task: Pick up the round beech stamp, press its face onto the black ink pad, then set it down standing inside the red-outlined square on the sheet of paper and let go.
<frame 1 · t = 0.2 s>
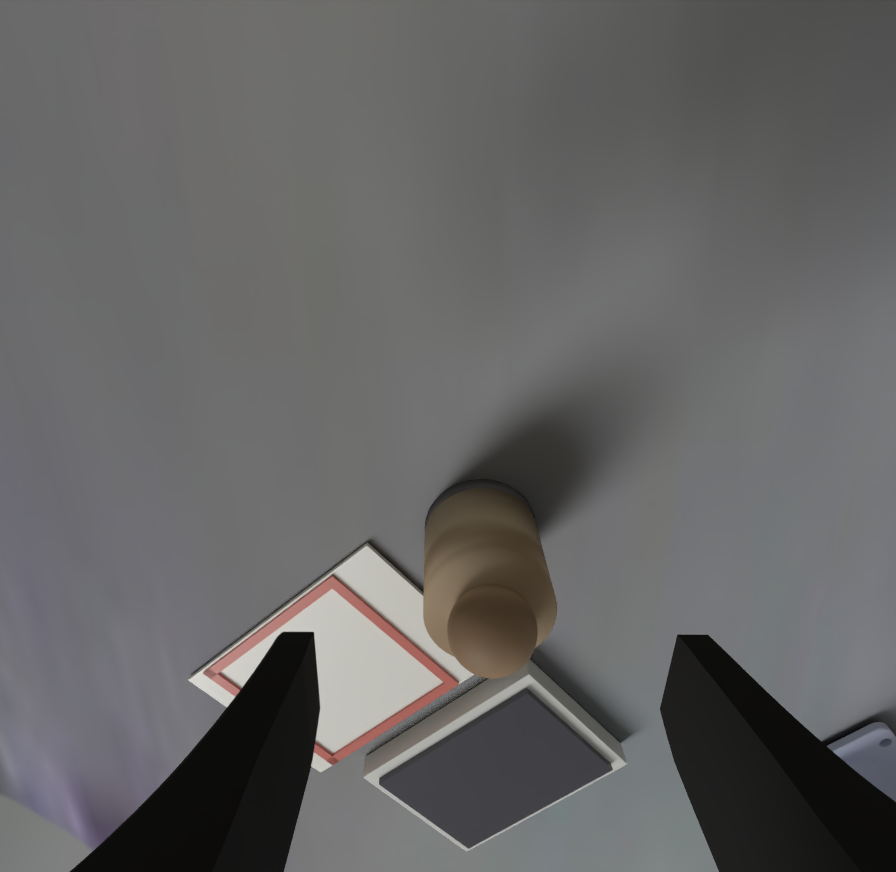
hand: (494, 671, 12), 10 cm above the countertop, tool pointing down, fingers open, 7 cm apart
ink pad: (493, 750, 28), on the countertop
sheet: (342, 666, 25), on the countertop
stamp: (479, 527, 23), on the countertop
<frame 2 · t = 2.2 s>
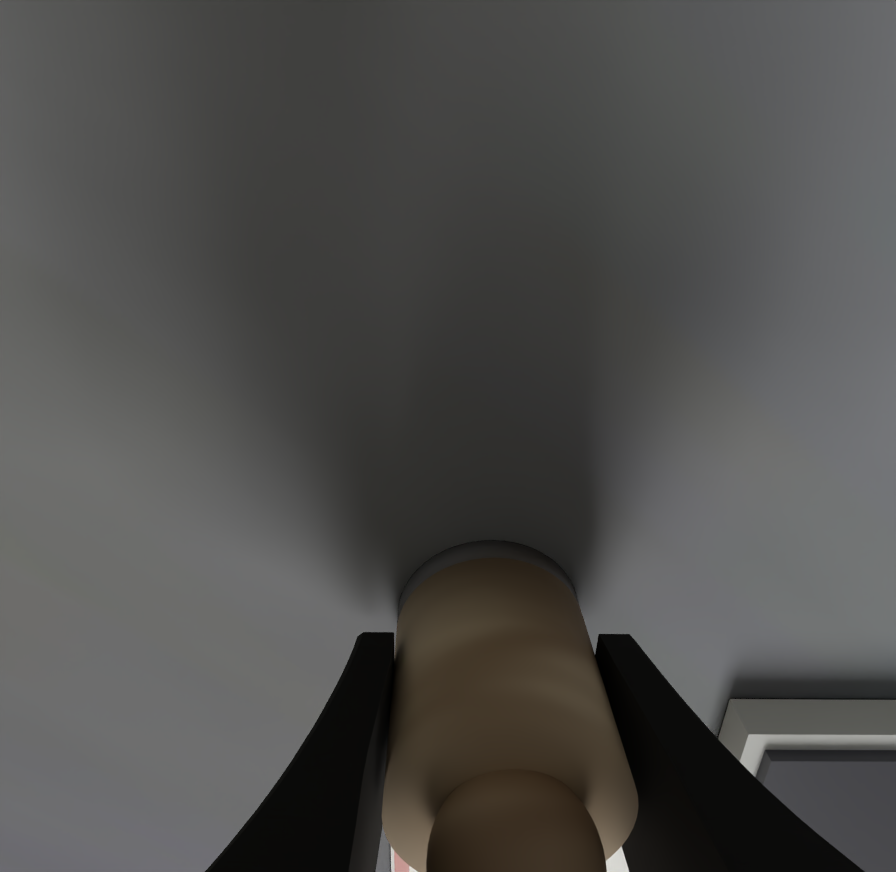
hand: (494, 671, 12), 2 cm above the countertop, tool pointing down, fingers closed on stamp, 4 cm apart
ink pad: (820, 819, 17), on the countertop
sheet: (525, 853, 17), on the countertop
stamp: (487, 615, 14), on the countertop, touching gripper
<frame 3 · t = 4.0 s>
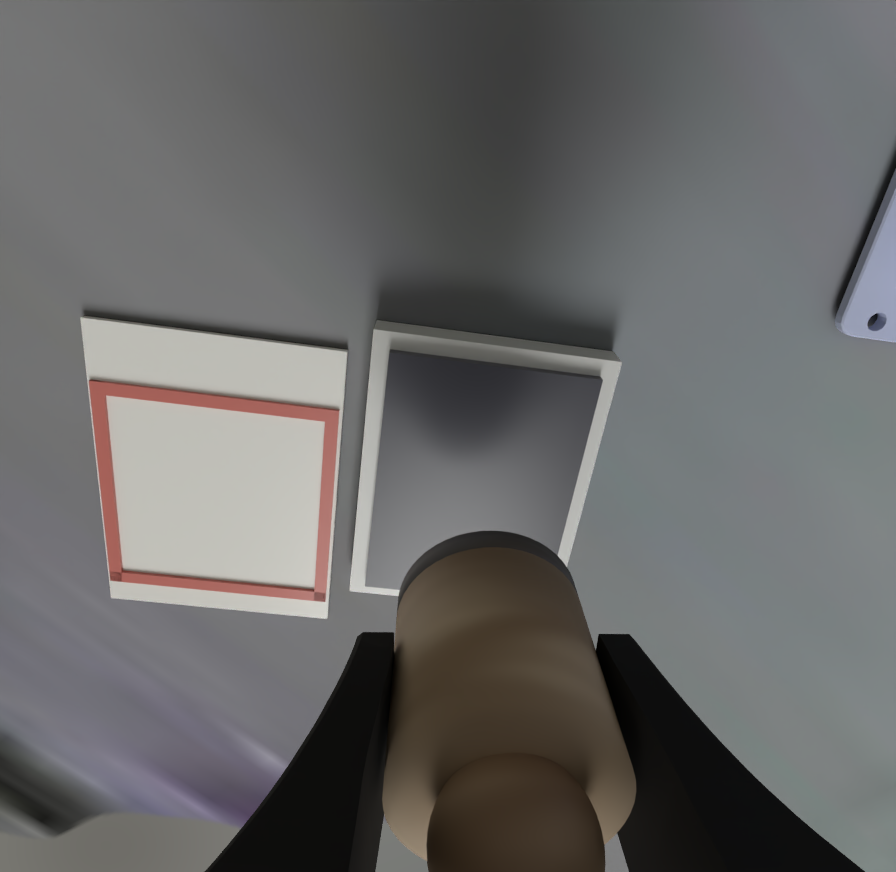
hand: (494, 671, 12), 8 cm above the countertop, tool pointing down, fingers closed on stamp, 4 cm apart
ink pad: (472, 470, 20), on the countertop
sheet: (220, 482, 20), on the countertop
stamp: (487, 605, 14), point 7 cm above the countertop, touching gripper
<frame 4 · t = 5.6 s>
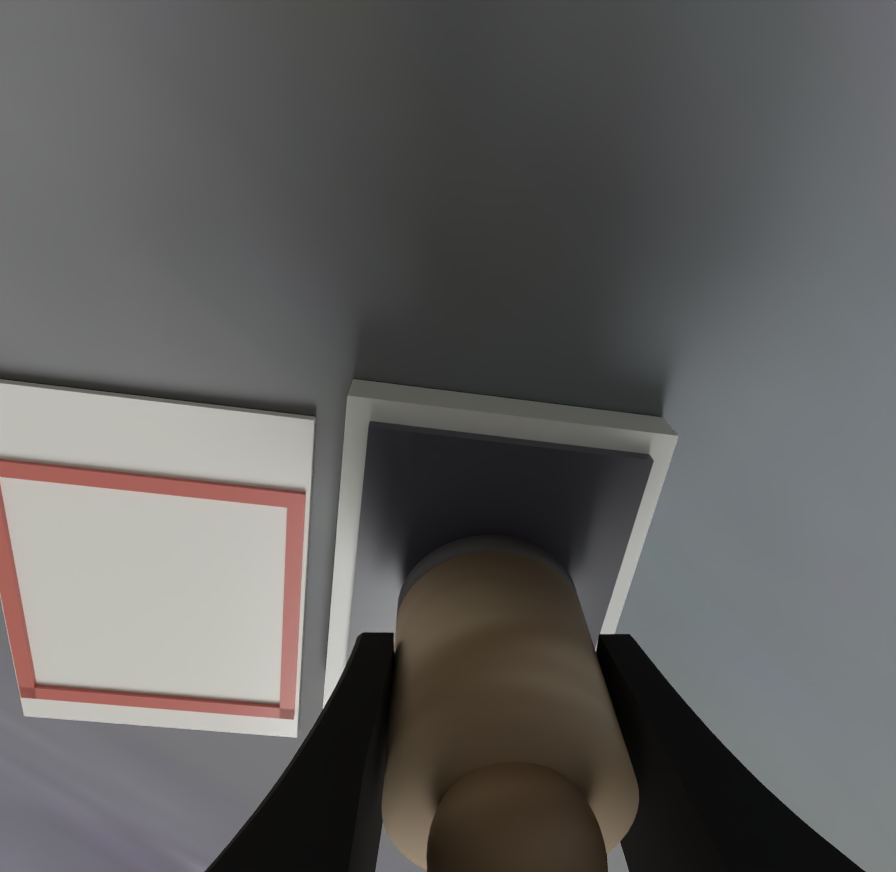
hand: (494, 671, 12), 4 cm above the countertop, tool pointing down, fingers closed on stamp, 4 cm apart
ink pad: (478, 563, 16), on the countertop
sheet: (155, 580, 16), on the countertop
stamp: (487, 610, 14), point 2 cm above the countertop, touching gripper
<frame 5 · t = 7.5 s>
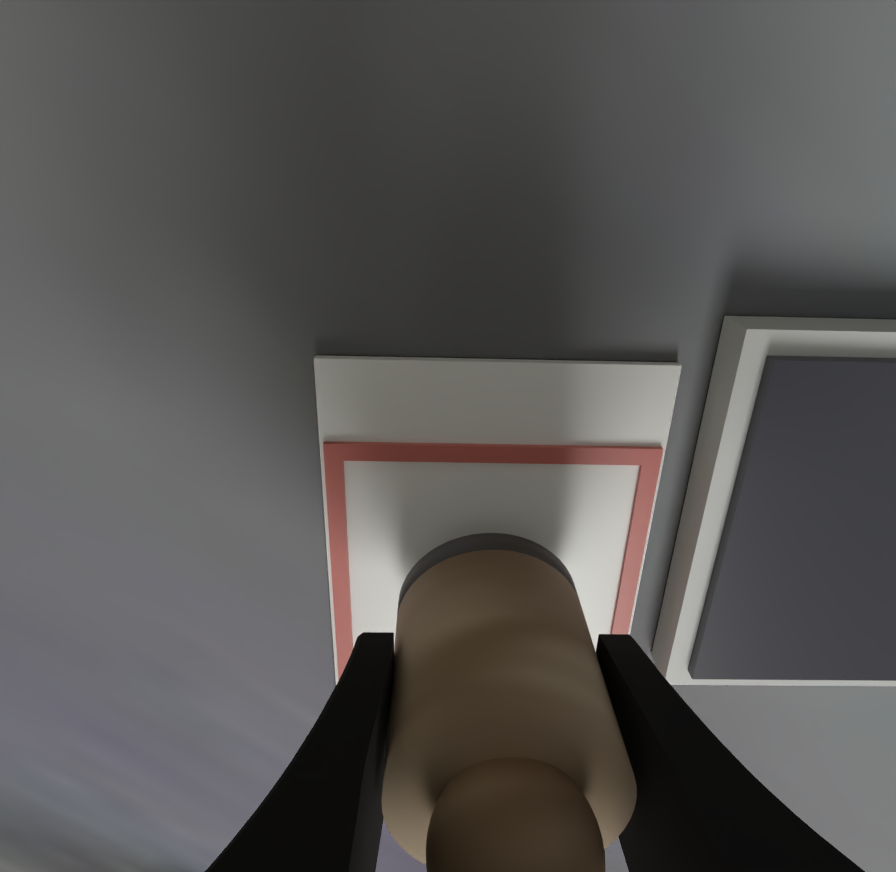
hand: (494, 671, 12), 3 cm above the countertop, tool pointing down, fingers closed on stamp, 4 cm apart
ink pad: (831, 509, 15), on the countertop
sheet: (485, 558, 15), on the countertop
stamp: (487, 607, 14), point 1 cm above the countertop, touching gripper
when the fingers open (2 cm above the countertop, at t = 9.0 s): stamp stays where it is, resting on sheet.
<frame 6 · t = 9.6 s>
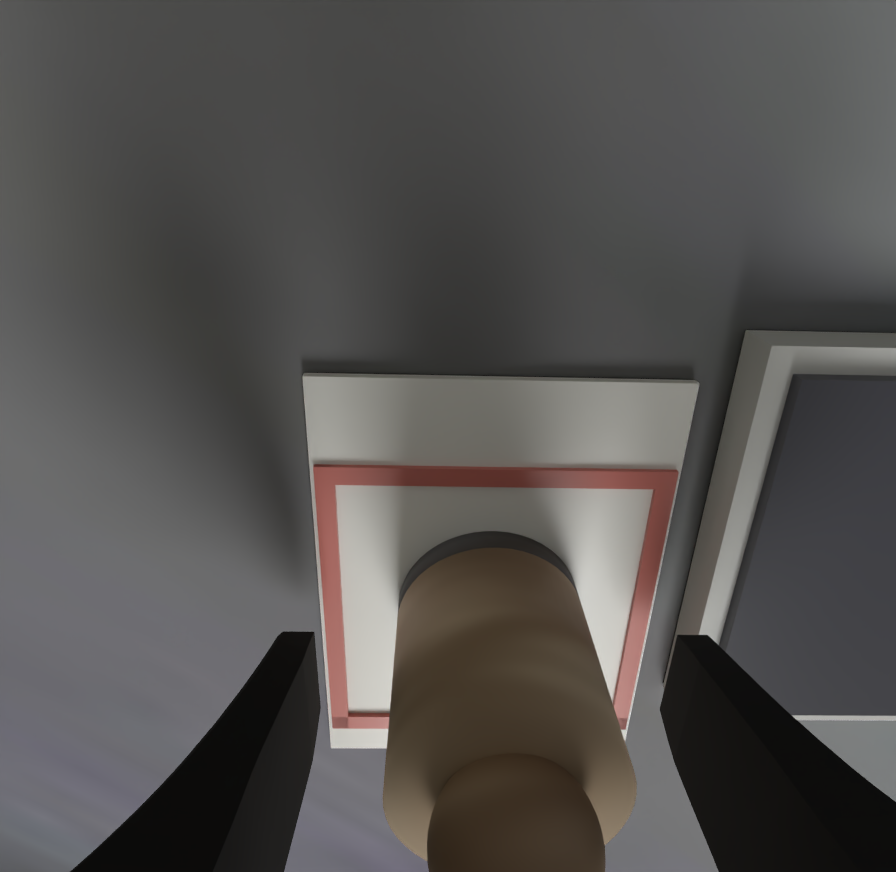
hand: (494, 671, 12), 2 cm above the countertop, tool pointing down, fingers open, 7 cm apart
ink pad: (857, 534, 14), on the countertop
sheet: (487, 586, 14), on the countertop
stamp: (487, 605, 14), resting on sheet
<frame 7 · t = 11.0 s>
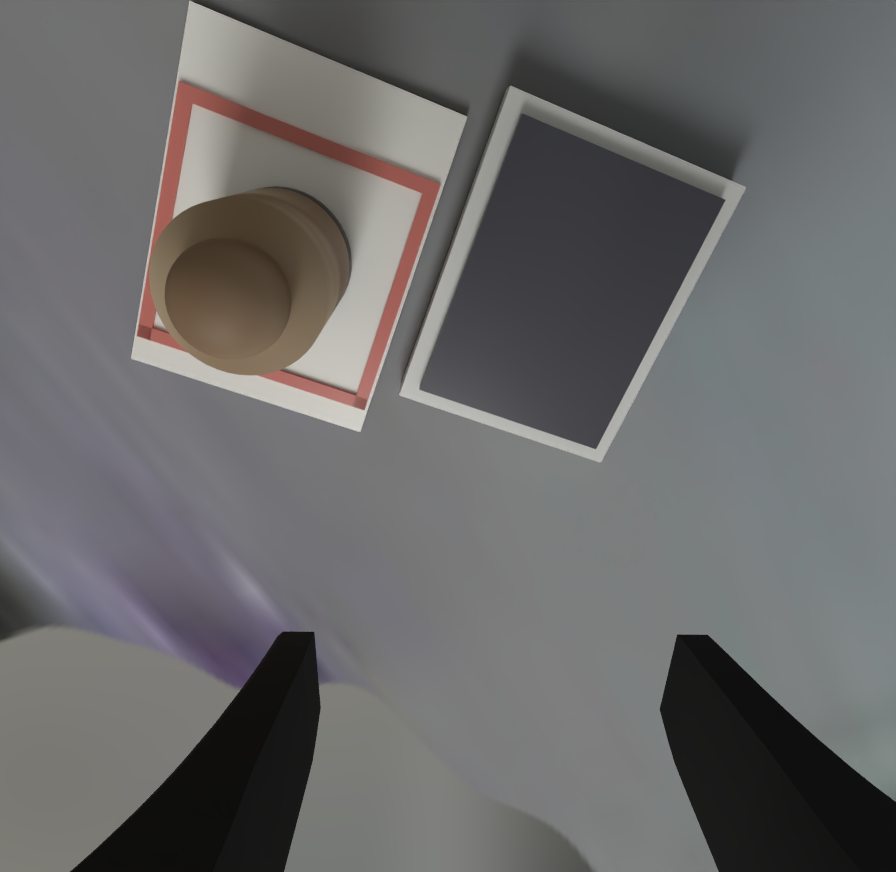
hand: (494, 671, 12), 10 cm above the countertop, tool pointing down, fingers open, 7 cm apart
ink pad: (555, 290, 19), on the countertop
sheet: (288, 245, 18), on the countertop
stamp: (283, 259, 18), resting on sheet
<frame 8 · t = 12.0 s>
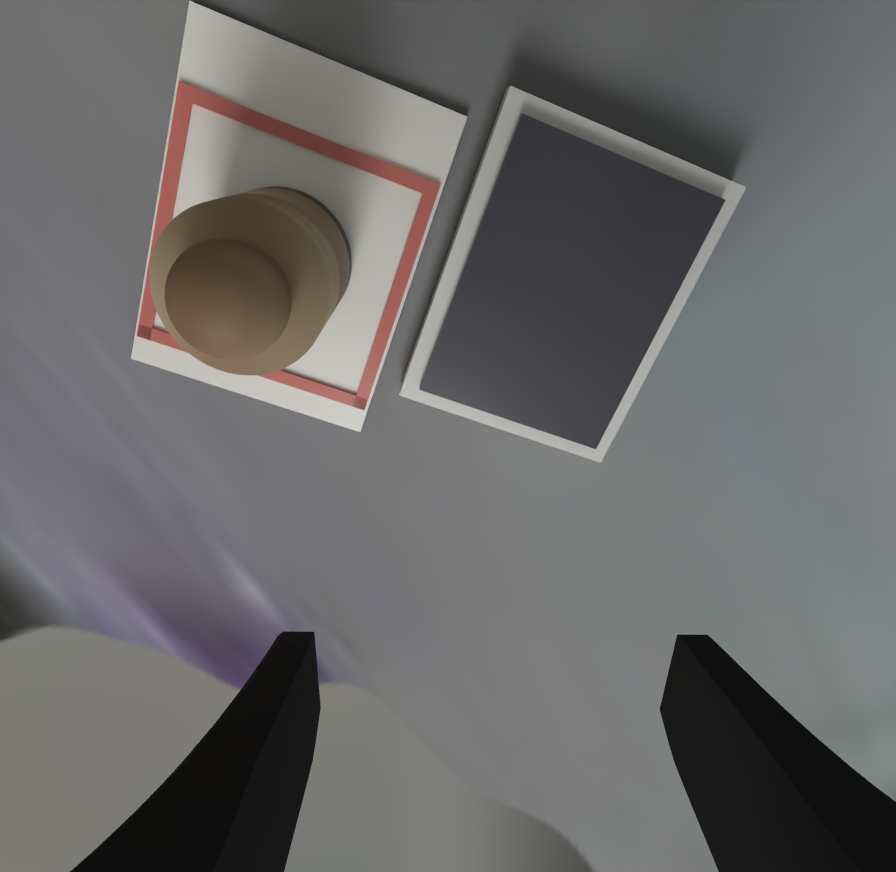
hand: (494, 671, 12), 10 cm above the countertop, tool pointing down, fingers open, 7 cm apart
ink pad: (555, 290, 19), on the countertop
sheet: (288, 245, 18), on the countertop
stamp: (283, 259, 18), resting on sheet
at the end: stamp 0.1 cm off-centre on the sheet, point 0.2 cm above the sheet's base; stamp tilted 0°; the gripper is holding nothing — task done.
